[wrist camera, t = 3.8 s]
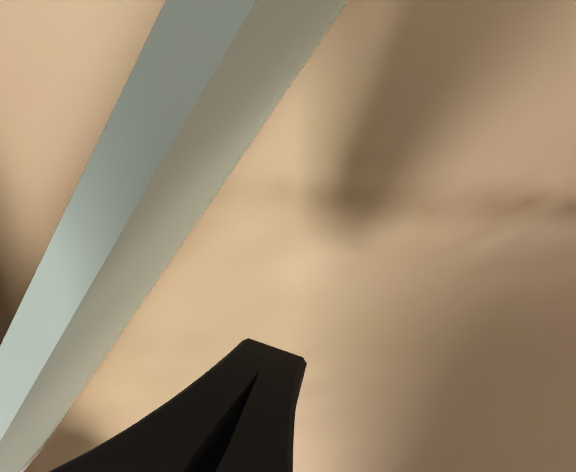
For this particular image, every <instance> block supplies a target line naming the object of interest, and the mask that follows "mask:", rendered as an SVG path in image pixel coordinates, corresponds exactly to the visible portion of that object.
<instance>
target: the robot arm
mask: <svg viewBox="0 0 576 472" xmlns="http://www.w3.org/2000/svg"><path fill="white" fill-rule="evenodd" d="M306 364H307V363H306V362H305V360H304V358H303V357H300V356H297V355H295V354H292V353H289V352H286V351H283V350H280V349H277V348H275V347H272V346H269V345H266V344H263V343H260V342H257V341H255V340H252V339H249V338H248V339H246V340H243V341H242V342H241V343H240V344H239V345H238V346H237V347H235V348H234V349H233V350H232V351H231V352H230V353H229V354H228V355H226V356H225V357H224V358H223V359H222V360H221V361H220V362H218V363H217V364H216V365H215V366H214V367H212V368H211V369H210V370H209V371H207V372H206V373H205V374H204V375H203V376H201V377H200V378H199V379H197V380H196V381H195V382H193V383H192V384H191V385H189V386H188V387H187V388H186V389H184V390H183V391H182V392H180V393H179V394H178V395H176V396H175V397H174V398H172V399H171V400H169V401H168V402H167V403H165V404H164V405H162V406H161V407H159V408H158V409H156V410H155V411H153V412H152V413H150V414H149V415H147V416H146V417H144V418H143V419H141V420H140V421H139V422H137V423H135V424H134V425H132V426H131V427H129V428H127V429H126V430H124V431H123V432H121V433H119V434H118V435H116V436H114V437H113V438H111V439H109V440H108V441H106V442H104V443H102V444H101V445H99V446H97V447H95V448H94V449H92V450H90V451H88V452H86V453H84V454H83V455H81V456H79V457H77V458H75V459H73V460H71V461H69V462H67V463H65V464H63V465H61V466H59V467H57V468H55V469H54V470H52V471H50V472H293V438H294V420H295V410H296V404H297V400H298V396H299V392H300V388H301V384H302V380H303V376H304V372H305V368H306Z"/></svg>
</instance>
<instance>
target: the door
mask: <svg viewBox="0 0 576 472" xmlns="http://www.w3.org/2000/svg"><path fill="white" fill-rule="evenodd" d="M347 2H348V0H166V1H165V3H164V5H163V7H162V10H161V12H160V14H159V16H158V18H157V20H156V22H155V24H154V26H153V28H152V30H151V32H150V35H149V37H148V39H147V41H146V43H145V45H144V47H143V49H142V51H141V53H140V55H139V58H138V60H137V62H136V64H135V66H134V68H133V70H132V72H131V74H130V76H129V78H128V80H127V83H126V85H125V87H124V89H123V91H122V93H121V95H120V97H119V99H118V101H117V103H116V106H115V108H114V110H113V112H112V114H111V116H110V118H109V120H108V122H107V124H106V126H105V128H104V131H103V133H102V135H101V137H100V139H99V141H98V143H97V145H96V147H95V149H94V151H93V154H92V156H91V158H90V160H89V162H88V164H87V166H86V168H85V170H84V172H83V174H82V176H81V179H80V181H79V183H78V185H77V187H76V189H75V191H74V193H73V195H72V197H71V199H70V202H69V204H68V206H67V208H66V210H65V212H64V214H63V216H62V218H61V220H60V222H59V224H58V227H57V229H56V231H55V233H54V235H53V237H52V239H51V241H50V243H49V245H48V247H47V250H46V252H45V254H44V256H43V258H42V260H41V262H40V264H39V266H38V268H37V270H36V272H35V275H34V277H33V279H32V281H31V283H30V285H29V287H28V289H27V291H26V293H25V295H24V298H23V300H22V302H21V304H20V306H19V308H18V310H17V312H16V314H15V316H14V318H13V320H12V323H11V325H10V327H9V329H8V331H7V333H6V335H5V337H4V339H3V341H2V343H1V346H0V472H24V470H25V469H26V468H27V467H28V466H29V465H30V464H31V463H32V461H33V460H34V459H35V458H36V457H37V456H38V455H39V454H40V453H41V451H42V450H43V449H44V445H43V444H44V443H45V442H46V441H47V440H48V439H49V438H50V436H51V435H52V434H53V432H54V431H55V429H56V428H57V426H58V425H59V423H60V422H61V420H62V419H63V418H64V416H65V415H66V413H67V412H68V410H69V409H70V407H71V406H72V404H73V403H74V401H75V400H76V398H77V397H78V396H79V394H80V393H81V391H82V390H83V388H84V387H85V385H86V384H87V382H88V381H89V379H90V378H91V377H92V375H93V374H94V372H95V371H96V369H97V368H98V366H99V365H100V363H101V362H102V360H103V359H104V357H105V356H106V355H107V353H108V352H109V350H110V349H111V347H112V346H113V344H114V343H115V341H116V340H117V338H118V337H119V336H120V334H121V333H122V331H123V330H124V328H125V327H126V325H127V324H128V322H129V321H130V319H131V318H132V316H133V315H134V314H135V312H136V311H137V309H138V308H139V306H140V305H141V303H142V302H143V300H144V299H145V297H146V296H147V294H148V293H149V292H150V290H151V289H152V287H153V286H154V284H155V283H156V281H157V280H158V278H159V277H160V275H161V274H162V273H163V271H164V270H165V268H166V267H167V265H168V264H169V262H170V261H171V259H172V258H173V256H174V255H175V253H176V252H177V251H178V249H179V248H180V246H181V245H182V243H183V242H184V240H185V239H186V237H187V236H188V234H189V233H190V232H191V230H192V229H193V227H194V226H195V224H196V223H197V221H198V220H199V218H200V217H201V215H202V214H203V212H204V211H205V210H206V208H207V207H208V205H209V204H210V202H211V201H212V199H213V198H214V196H215V195H216V193H217V192H218V190H219V189H220V188H221V186H222V185H223V183H224V182H225V180H226V179H227V177H228V176H229V174H230V173H231V171H232V170H233V169H234V167H235V166H236V164H237V163H238V161H239V160H240V158H241V157H242V155H243V154H244V152H245V151H246V149H247V148H248V147H249V145H250V144H251V142H252V141H253V139H254V138H255V136H256V135H257V133H258V132H259V130H260V129H261V128H262V126H263V125H264V123H265V122H266V120H267V119H268V117H269V116H270V114H271V113H272V111H273V110H274V108H275V107H276V106H277V104H278V103H279V101H280V100H281V98H282V97H283V95H284V94H285V92H286V91H287V89H288V88H289V86H290V85H291V84H292V82H293V81H294V79H295V78H296V76H297V75H298V73H299V72H300V70H301V69H302V67H303V66H304V65H305V63H306V62H307V60H308V59H309V57H310V56H311V54H312V53H313V51H314V50H315V48H316V47H317V45H318V44H319V43H320V41H321V40H322V38H323V37H324V35H325V34H326V32H327V31H328V29H329V28H330V26H331V25H332V23H333V22H334V21H335V19H336V18H337V16H338V15H339V13H340V12H341V10H342V9H343V7H344V6H345V4H346V3H347Z"/></svg>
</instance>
